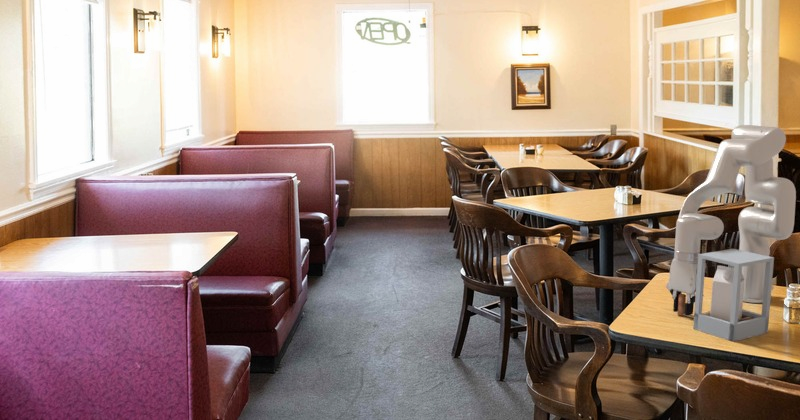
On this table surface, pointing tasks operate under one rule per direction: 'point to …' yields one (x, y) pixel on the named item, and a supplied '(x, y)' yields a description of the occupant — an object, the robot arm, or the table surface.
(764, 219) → the robot arm
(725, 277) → the milk carton
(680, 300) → the brown tray with handle
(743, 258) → the grey open frame
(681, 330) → the table surface
